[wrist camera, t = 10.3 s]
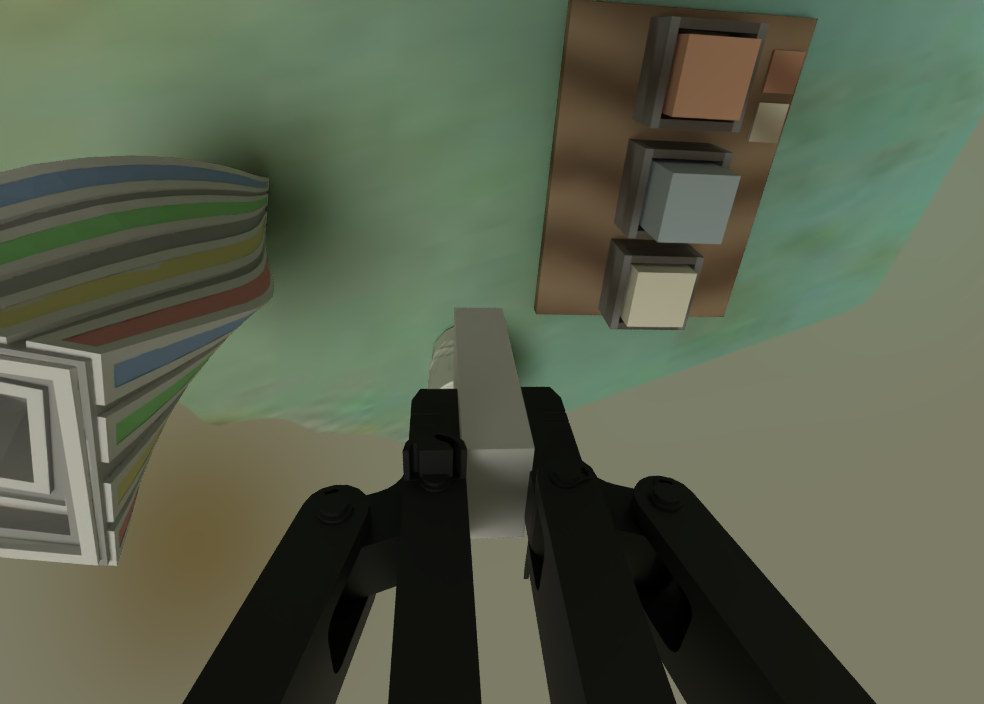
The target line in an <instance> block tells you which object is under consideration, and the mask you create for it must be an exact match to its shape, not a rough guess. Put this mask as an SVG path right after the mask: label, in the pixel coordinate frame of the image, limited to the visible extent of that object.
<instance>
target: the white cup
mask: <svg viewBox="0 0 984 704" xmlns="http://www.w3.org/2000/svg"><path fill="white" fill-rule="evenodd" d="M453 353H454V327H453V328H450V329H448V330H446V331H444V333H443V334H442V335H441V336H440V337H439V339H438V340H437V341H436V342H435V345H434V350H433V355H432V362H431V364H430V371H429V378H428V384H427V389H453Z"/></svg>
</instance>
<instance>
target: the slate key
mask: <svg viewBox="0 0 984 704" xmlns="http://www.w3.org/2000/svg"><path fill="white" fill-rule="evenodd" d="M740 178H741V176H740V175H738V174H735V173H733V172H731V171H729V170H727V169H725V168H723V167H721V166H719V165H717V164H715V163H713V162H710V161H703V160H682V159H661V158H652V162H651V167H650V171H649V176H648V181H647V186H646V191H645V196H644V201H643V206H642V210H641V215H640V220H639V225H640V226H641V227H642V228H643V229H644V230H645V231H646V232H647V233H648V234H649V235H650V236H651V237H652V238H653V239H655V240H656V241H657V242H665V243H698V244H721V243H722V240H723V236H724V233H725V229H726V226H727V222H728V219H729V216H730V212H731V209H732V205H733V202H734V198H735V195H736V192H737V188H738V185H739V181H740Z"/></svg>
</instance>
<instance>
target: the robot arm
mask: <svg viewBox="0 0 984 704" xmlns="http://www.w3.org/2000/svg"><path fill="white" fill-rule="evenodd" d="M403 471H404V475H403V477H402V478H401V479H400V480H399V481H398V482H397V483H396V484H394V485H393V486H391V487H389V488H388V489H385V490H382V491H380V492H377V493H373V494H370V495H365V494H364V493H363V492H362V491H361V490H360V489H358V488H355V487H352V486H349V485H333V486H330V487H326V488H323V489H321V490H319V491H317V492H315V493H314V494H312V495H311V496H310V497H309V498H308V499H307V500H306V502H305V503H304V504H303V505H302V507H301V509H300V510H299V512H298V513H297V515H296V517H295V519H294V520H293V522H292V523H291V525H290V527H289V528H288V530H287V532H286V533H285V535H284V537H283V538H282V540H281V542H280V543H279V545H278V546H277V548H276V550H275V551H274V553H273V555H272V556H271V558H270V560H269V561H268V563H267V565H266V566H265V568H264V570H263V571H262V573H261V575H260V576H259V578H258V580H257V581H256V583H255V584H254V586H253V588H252V590H251V591H250V593H249V594H248V596H247V598H246V599H245V601H244V603H243V604H242V606H241V608H240V609H239V611H238V613H237V614H236V616H235V618H234V619H233V621H232V622H231V624H230V626H229V628H228V629H227V631H226V632H225V634H224V636H223V637H222V639H221V641H220V642H219V644H218V646H217V647H216V649H215V651H214V652H213V654H212V656H211V657H210V659H209V660H208V662H207V664H206V665H205V667H204V669H203V670H202V672H201V674H200V675H199V677H198V679H197V680H196V682H195V684H194V685H193V687H192V689H191V690H190V692H189V693H188V695H187V697H186V699H185V700H184V702H183V703H182V704H335V703H336V700H337V697H338V695H339V692H340V689H341V687H342V684H343V682H344V679H345V676H346V674H347V671H348V668H349V666H350V663H351V660H352V658H353V655H354V652H355V650H356V647H357V644H358V641H359V639H360V636H361V634H362V631H363V628H364V626H365V623H366V620H367V617H368V615H369V612H370V610H371V607H372V604H373V602H374V599H375V595H376V593H378V592H381V591H384V590H386V589H390V588H392V587H395V586H396V587H397V588H396V601H395V615H394V629H393V643H392V657H391V672H390V685H389V700H388V704H481V690H480V675H479V659H478V646H477V630H476V616H475V602H474V601H475V600H474V586H473V571H472V556H471V543H470V542H471V541H470V539H483V538H511V537H512V538H514V537H524V531H525V524H526V529H527V535H528V546H527V554H526V561H525V569H524V579H528V578H529V575H530V581H531V586H532V593H533V599H534V605H535V611H536V617H537V623H538V629H539V635H540V641H541V647H542V654H543V660H544V665H545V671H546V678H547V684H548V690H549V695H550V702H551V704H676V701H675V698H674V695H673V692H672V689H671V686H670V684H669V681H668V678H667V675H666V672H665V670H664V667H663V664H664V666H665V667H666V669H667V671H668V673H669V674H670V676H671V678H672V679H673V681H674V682H675V684H676V686H677V688H678V689H679V691H680V693H681V694H682V696H683V698H684V700H685V701H686V703H687V704H876V703H875V702H874V700H873V699H872V698H871V697H870V696H869V695H868V694H867V692H866V691H865V690H864V689H863V688H862V687H861V685H860V684H859V683H858V682H857V681H856V680H855V678H854V677H853V676H852V675H851V674H850V673H849V672H848V670H847V669H846V668H845V667H844V666H843V665H842V664H841V662H840V661H839V660H838V659H837V658H836V657H835V656H834V655H833V653H832V652H831V651H830V650H829V649H828V647H827V646H826V645H825V644H824V643H823V642H822V641H821V639H820V638H819V637H818V636H817V635H816V634H815V633H814V632H813V630H812V629H811V628H810V627H809V626H808V624H807V623H806V622H805V621H804V620H803V619H802V618H801V616H800V615H799V614H798V613H797V612H796V611H795V610H794V608H793V607H792V606H791V605H790V604H789V603H788V601H787V600H785V598H784V597H783V596H782V595H781V594H780V592H779V591H778V590H777V589H776V588H775V587H774V586H773V584H772V583H771V582H770V581H769V580H768V579H767V577H766V576H765V575H764V574H763V573H762V572H761V570H760V569H759V568H758V567H757V566H756V565H755V564H754V562H753V561H752V560H751V559H750V558H749V557H748V555H747V554H746V553H745V552H744V551H743V550H742V549H741V547H740V546H739V545H738V544H737V543H736V542H735V541H734V539H733V538H732V537H731V536H730V535H729V534H728V532H727V531H726V530H725V529H724V528H723V527H722V526H721V525H720V523H719V522H718V521H717V520H716V519H715V518H714V516H713V515H712V514H711V513H710V512H709V511H708V510H707V508H706V507H705V506H704V505H703V504H702V503H701V501H700V500H699V499H698V498H697V497H696V496H695V495H694V493H693V492H692V491H691V490H689V489H688V488H687V487H686V486H685V485H684V484H682V483H680V482H678V481H676V480H674V479H672V478H667V477H663V476H648V477H646V478H643V479H641V480H640V481H639V482H638V483H637V484H636V486H635V488H634V489H633V488H629V487H624V486H619V485H615V484H612V483H609V482H605V481H603V480H601V479H599V478H597V476H596V474H595V473H594V471H593V469H592V468H591V467H590V466H589V465H587V464H586V463H584V462H583V461H582V459H581V457H580V453H579V450H578V447H577V444H576V441H575V439H574V435H573V433H572V430H571V426H570V424H569V420H568V417H567V414H566V413H565V408H564V405H563V402H562V400H561V397H560V396H559V395H558V394H557V393H556V392H555V391H554V390H553V389H551V388H550V387H520V383H519V379H518V374H517V370H516V366H515V361H514V357H513V353H512V348H511V344H510V340H509V335H508V331H507V327H506V322H505V318H504V314H503V309H502V308H454V353H453V389H420V390H419V391H418V393H417V394H416V395H415V397H414V398H413V399H412V403H411V417H410V431H409V440H408V441H407V442H406V443H405V446H404V449H403ZM662 663H663V664H662Z"/></svg>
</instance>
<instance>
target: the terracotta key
mask: <svg viewBox="0 0 984 704" xmlns="http://www.w3.org/2000/svg"><path fill="white" fill-rule="evenodd" d="M761 40H762V39H753V38H739V37H726V36H712V35H699V34H678V35H677V40H676V45H675V50H674V54H673V59H672V64H671V69H670V74H669V79H668V84H667V89H666V93H665V98H664V103H663V108H662V113H663V114H666V115H669V116H671V117H685V118H703V119H721V120H738V121H739V120H740V117H741V113H742V109H743V106H744V102H745V99H746V95H747V91H748V88H749V84H750V80H751V77H752V73H753V69H754V66H755V62H756V59H757V55H758V51H759V48H760V44H761Z"/></svg>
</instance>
